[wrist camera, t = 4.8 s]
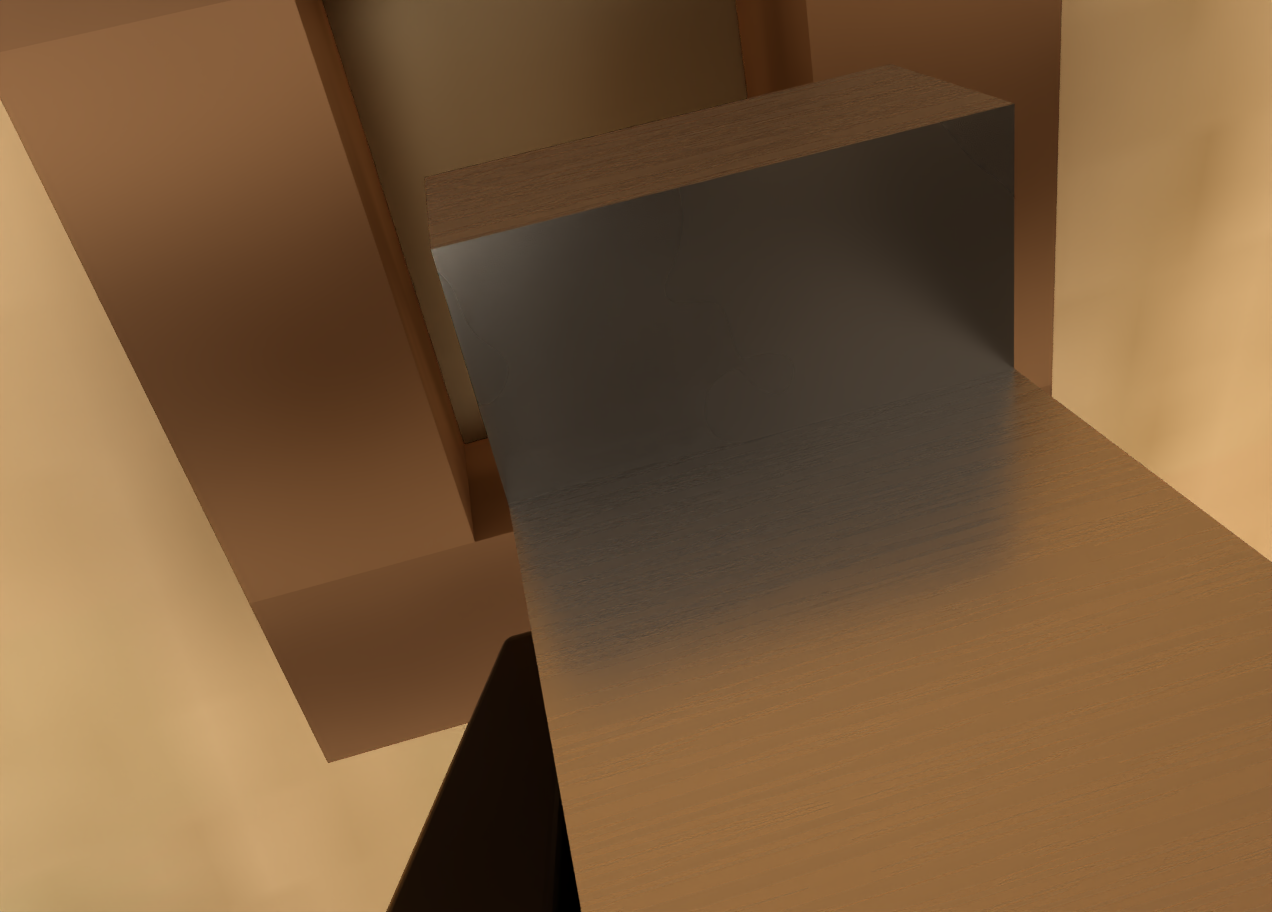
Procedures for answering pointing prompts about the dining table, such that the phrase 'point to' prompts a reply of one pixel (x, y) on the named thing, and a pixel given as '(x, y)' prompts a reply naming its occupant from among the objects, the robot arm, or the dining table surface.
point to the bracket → (843, 531)
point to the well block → (376, 306)
